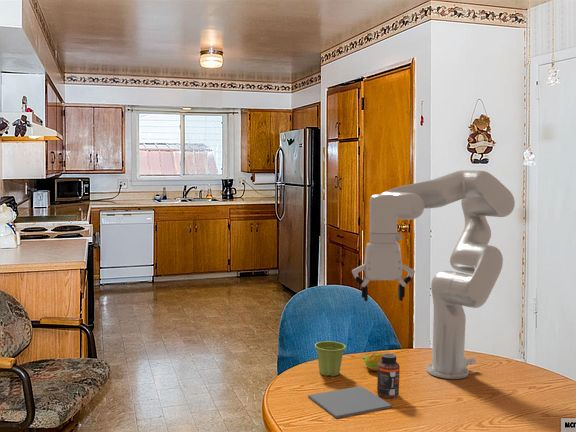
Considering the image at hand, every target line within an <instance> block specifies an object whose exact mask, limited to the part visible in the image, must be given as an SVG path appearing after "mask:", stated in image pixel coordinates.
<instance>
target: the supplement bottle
mask: <svg viewBox="0 0 576 432" xmlns="http://www.w3.org/2000/svg"><path fill="white" fill-rule="evenodd" d="M381 359H382V361H381V362H379V364H378V371H377V379H376V380H377V382H376V383H377V385H376V386H377V387H376V391H377V392H376V393H377V396H378V397H379V398H383V399H395V398H397V397H398V396H399V394H400V364H399V363H398V362H397V355H396V354H394V353H383V354H382V358H381Z"/></svg>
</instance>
